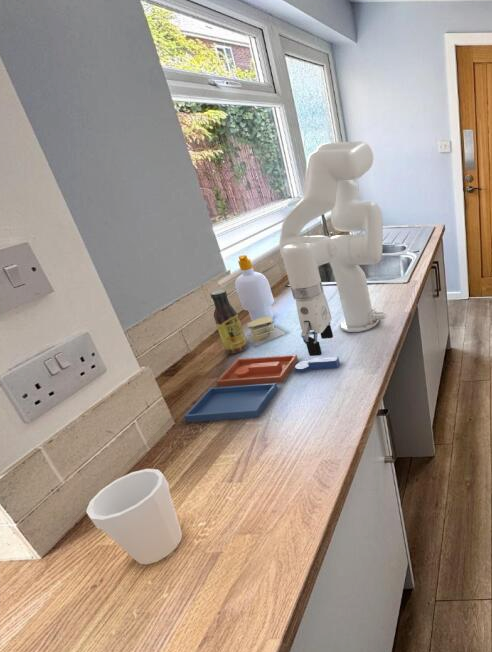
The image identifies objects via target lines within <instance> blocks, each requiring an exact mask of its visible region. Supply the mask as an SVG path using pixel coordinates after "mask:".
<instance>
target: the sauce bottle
mask: <svg viewBox="0 0 492 652" xmlns="http://www.w3.org/2000/svg"><path fill="white" fill-rule="evenodd" d="M209 294H210V298H211V299H212V301H213V305H214V311H213V318H214V322H215V325H216V328H217V331H218V335H219V337H220V339H221V343H222V346H223V348H224V349H225V350H224V351H225V352H226V354H229V355H230V354H231V355H234V354H238V353H240V352H243V351H245V350H246V349H247V348H248V341H247V340H246V334H245V332H244V328H243V325H242V322H241V319H240V316H239V314H238V312H237V311H236V310H235V309H234V307H233V306H232V304H231V303H230V301H229V298H228V292H227V290H225V289H218V290H214V291H212V292H210V293H209Z"/></svg>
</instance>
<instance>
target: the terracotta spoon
mask: <svg viewBox="0 0 492 652" xmlns="http://www.w3.org/2000/svg"><path fill="white" fill-rule="evenodd" d="M281 369H282V366H281V363H280V362H266V363H252V364H251V365H247V366H243V367H240V368H238V369H237V370H236V371H235V374H236V376H237V377H239V378H242V377H246V376H249V375H254V374H268V373H279V372H280V371H281Z"/></svg>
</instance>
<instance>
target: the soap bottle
mask: <svg viewBox="0 0 492 652" xmlns="http://www.w3.org/2000/svg"><path fill="white" fill-rule="evenodd" d="M238 259H239V260H238V262H237V263H238V266H239V268H240V272H241V274H240V275H239V276H238V277H237V278H236V279H235V282H234V287H235V291H236V294H237V296H238V299H239V302H240V305H241V307H242V309H243V310H244V311H246V312H248V314H249V318H250V320H251V322H252V321H254V320H256V319H259V318H262V317H268V318H273V319H274V317H275V313H274V309H273V307H272V305H273V304H274V302H275V299H274V295H273V292H272V289H271V286H270V283H269V280H268V278H267V277H266V276H265V275H264V274H263V273H261V272H258V271H255V270H254V268H253V264H252V261H251V259H250V258H248V255H247V254H241V255H239V256H238Z"/></svg>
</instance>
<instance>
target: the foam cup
mask: <svg viewBox="0 0 492 652" xmlns="http://www.w3.org/2000/svg"><path fill="white" fill-rule="evenodd" d="M169 487H170V484H169V482H168V480H167V479H166V477H165V475H164V474H163V473H162V472H161V470H159V469H158V468H157V469H156V468H144V469H139V470H136V471H132V472H130V473H127V474H126V475H123V476H120V477H119V478H117V479H115V480H113V481H111V483H109V484H108V485H106V486H104V487H103V488H102V489H100V490H99V491H98V493H96V494H95V496H93V498H92V499H91V500H90V501H89V503H88V506H87V508H86V511H85V512H86V515H87V516H88V518H89V519H90V520H91V521H92V523H93V525H94V526H95V527H96V529H98V530H101V531H102V532H103V533H104V534H106V535H107V536H108V537H109V538H110V539H111V540H112V541H113V542H114V543H115V544H117V546H119V547H120V548H121V549H122V550H123V551H124V552H125V553H127V554H128V555H129V557H131V558H133V560H134V561H136V562H137V563H138V564H140V565H151V564H153V563H157V562H159V561H161V560H163V559H164V558H167V556H169V555H170V554H172V552H174V551H175V549H177V547H178V546H179V544H180V542H181V541H182V536H183V532H182V527H181V525H180V522H179V518H178V516H177V512H176V509H175V506H174V502H173V498H172V495H171V491H170V489H169Z"/></svg>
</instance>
